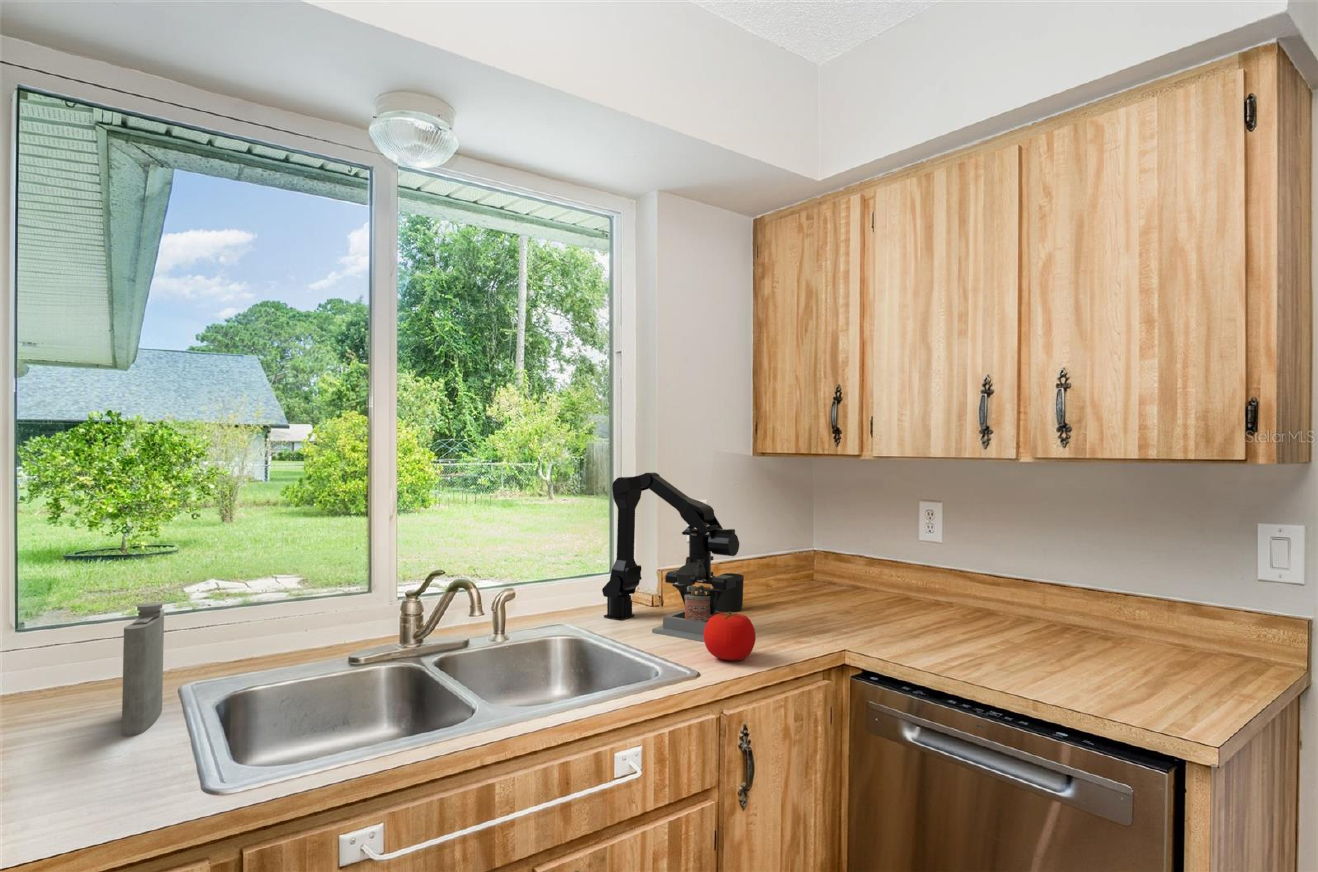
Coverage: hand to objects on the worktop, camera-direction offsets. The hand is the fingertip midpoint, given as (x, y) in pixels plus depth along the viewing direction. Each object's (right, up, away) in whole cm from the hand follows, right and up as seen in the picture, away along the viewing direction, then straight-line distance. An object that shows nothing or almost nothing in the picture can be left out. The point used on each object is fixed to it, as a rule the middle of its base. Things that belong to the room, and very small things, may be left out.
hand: (699, 612), depth 188 cm
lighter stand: (0, -5, 0) cm, 5 cm away
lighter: (0, -3, 0) cm, 3 cm away
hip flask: (-100, -3, -63) cm, 118 cm away
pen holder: (+10, -6, +26) cm, 28 cm away
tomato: (+5, -4, -26) cm, 27 cm away
